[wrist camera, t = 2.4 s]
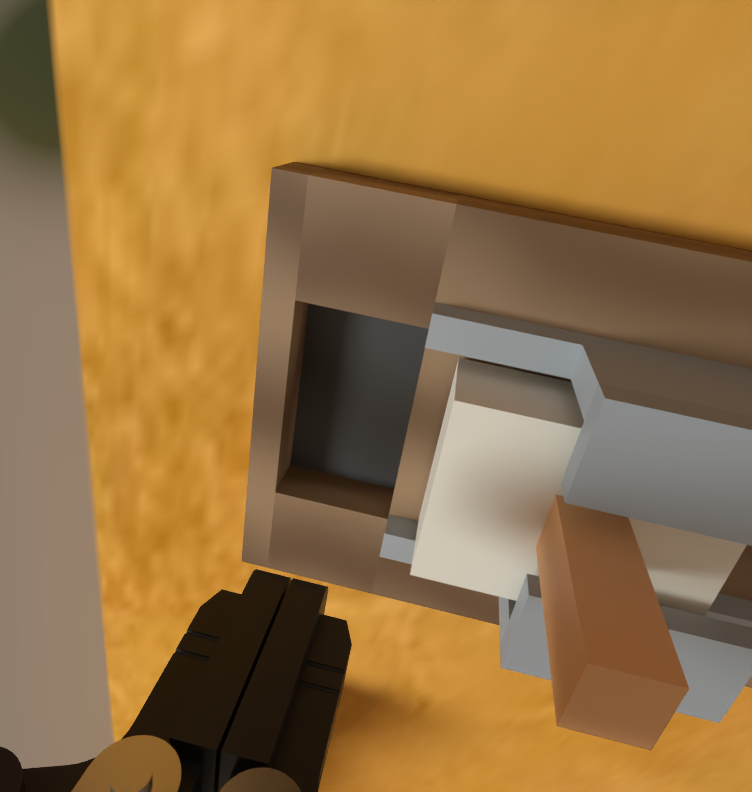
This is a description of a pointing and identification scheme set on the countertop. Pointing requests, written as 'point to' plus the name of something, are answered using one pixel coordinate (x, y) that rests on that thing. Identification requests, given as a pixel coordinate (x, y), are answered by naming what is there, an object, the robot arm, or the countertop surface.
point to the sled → (563, 552)
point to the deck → (433, 351)
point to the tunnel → (631, 476)
